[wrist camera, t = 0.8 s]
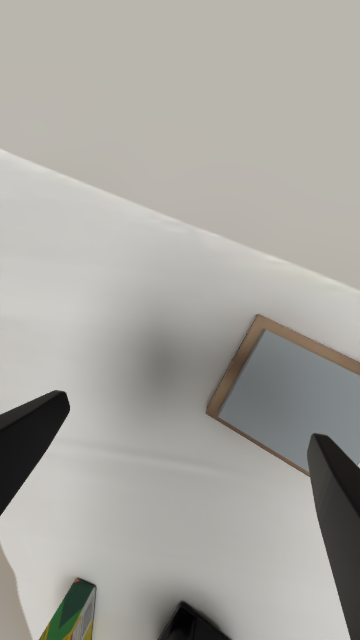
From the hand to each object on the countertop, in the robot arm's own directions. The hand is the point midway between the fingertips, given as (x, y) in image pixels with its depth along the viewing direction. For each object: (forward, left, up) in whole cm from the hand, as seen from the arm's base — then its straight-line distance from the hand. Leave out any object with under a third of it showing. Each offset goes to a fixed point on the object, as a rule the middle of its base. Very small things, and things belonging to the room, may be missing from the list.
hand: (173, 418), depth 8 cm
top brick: (0, -9, -14) cm, 17 cm away
